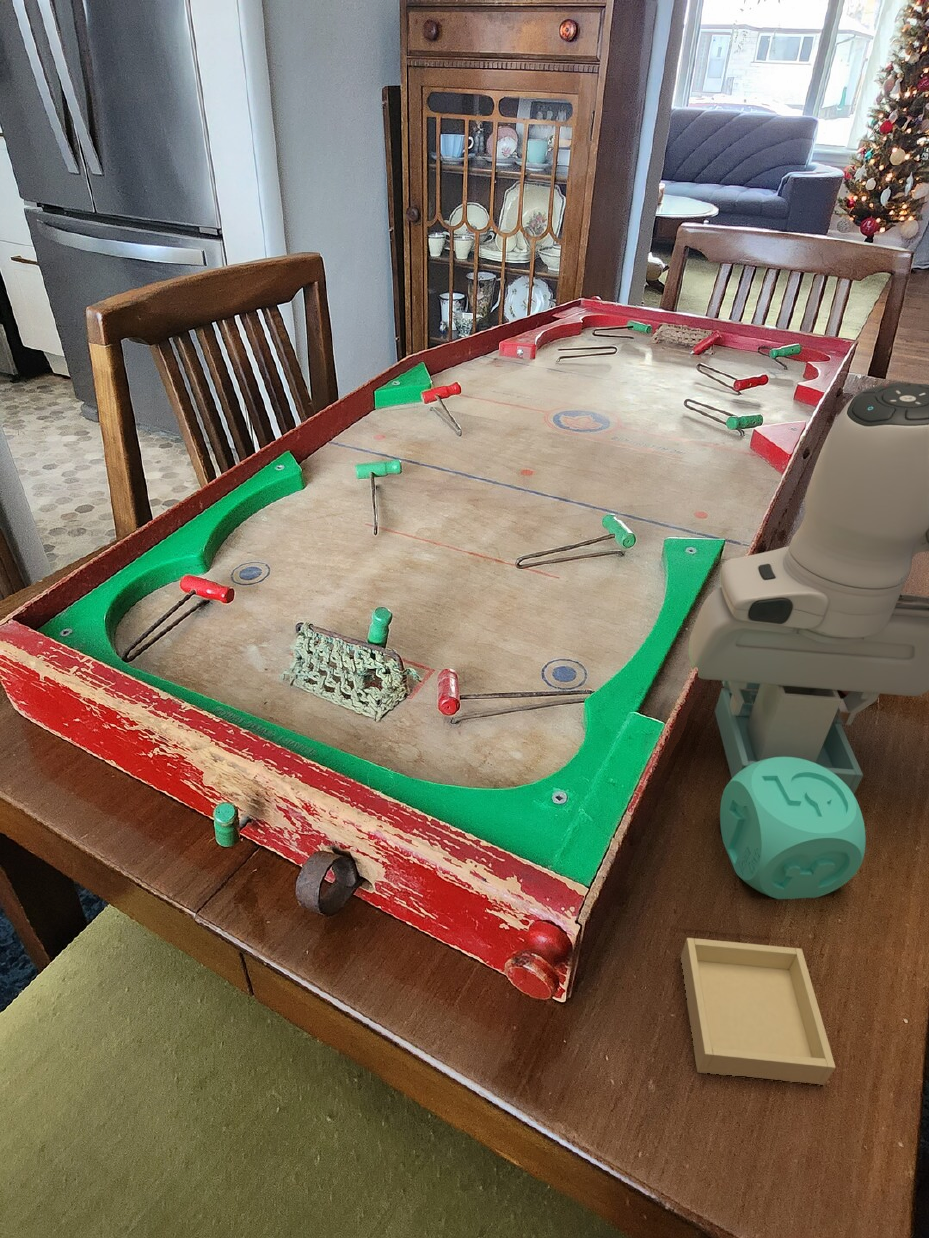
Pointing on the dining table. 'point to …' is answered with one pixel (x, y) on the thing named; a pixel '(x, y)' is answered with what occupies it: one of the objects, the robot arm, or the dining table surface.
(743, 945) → the tray
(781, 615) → the robot arm
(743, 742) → the grey-teal open box
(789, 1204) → the dining table surface
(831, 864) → the decorative dice
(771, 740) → the container
